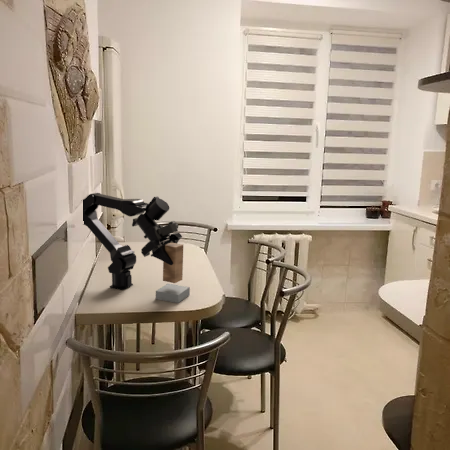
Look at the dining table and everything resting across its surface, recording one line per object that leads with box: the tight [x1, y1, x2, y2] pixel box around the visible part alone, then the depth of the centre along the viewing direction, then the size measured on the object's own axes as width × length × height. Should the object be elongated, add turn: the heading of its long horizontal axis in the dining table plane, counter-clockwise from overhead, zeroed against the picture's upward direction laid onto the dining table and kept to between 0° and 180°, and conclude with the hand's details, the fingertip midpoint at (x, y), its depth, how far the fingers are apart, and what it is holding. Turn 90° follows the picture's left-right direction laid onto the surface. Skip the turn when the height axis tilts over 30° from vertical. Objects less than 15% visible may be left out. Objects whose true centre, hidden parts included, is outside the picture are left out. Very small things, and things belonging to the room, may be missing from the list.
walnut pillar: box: [162, 243, 184, 284], centre depth 159 cm, size 5×5×13 cm
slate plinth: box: [155, 283, 191, 304], centre depth 161 cm, size 9×9×3 cm
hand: (176, 262), depth 158 cm, fingers closed on walnut pillar, 5 cm apart
